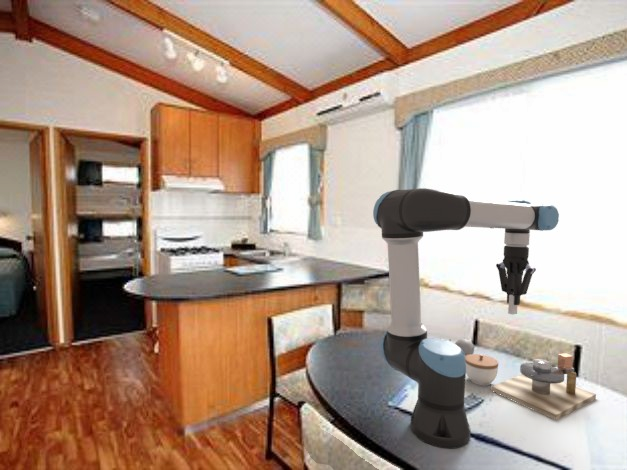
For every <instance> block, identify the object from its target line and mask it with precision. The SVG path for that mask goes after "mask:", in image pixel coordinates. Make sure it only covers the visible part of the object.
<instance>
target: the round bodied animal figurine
mask: <svg viewBox="0 0 627 470" xmlns="http://www.w3.org/2000/svg"><path fill="white" fill-rule="evenodd" d="M448 341H450V342H452V343H454V344H456V345H457V346H459V347H460V348H461V349H462V350H463V352H464V354H465V356H466V355H469V354H475V353H474V352H475V345H474V344H473V342H472V341H471V340H469V339H468V338H459V339H458V340H457V341H456V342H455V341H452V339H451V338H449V340H448Z"/></svg>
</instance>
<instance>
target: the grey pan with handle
mask: <svg viewBox="0 0 627 470" xmlns="http://www.w3.org/2000/svg"><path fill="white" fill-rule="evenodd" d="M557 355H558V357H557V366H552V362H551V361H549V360H546V359H544V358H543V359H542V358H541V359H540V358H534V359H532V362H524V363H522V364H520V368H519V372H520V373H521V375H522V374H523V375H524V376H526V377H528V378H530V379H533V380H536V381H539V382H544V383H561V382H564V381H565V375H567V371H572V372H575V368H574V367H573V357H574V356H573V355H571V354H568V353H558V354H557Z"/></svg>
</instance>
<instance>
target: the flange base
mask: <svg viewBox="0 0 627 470" xmlns="http://www.w3.org/2000/svg"><path fill="white" fill-rule="evenodd" d="M491 390H492V391H491ZM490 391H491V392H493V391H494V392H493V393H495V392H496V393H495V394H497V393H498V394H497V395H499V394H501V395H503V396H502V397H504V396H505V397H504V398H506V397H507V398H506V399H508V398H509V399H508V400H510V399H512V400H511V401H513V400H514V401H513V402H515V401H516V402H515V403H517V402H518V403H517V404H519V403H520V404H519V405H521V404H523V405H522V406H524V405H525V406H524V407H526V406H527V407H526V408H528V407H529V409H530V408H532V409H531V410H533V409H534V410H533V411H535V412H537V411H538V412H537V413H539V412H540V413H539V414H541V415H543V416H547V417H549V418H550V419H553V420H554V421H557V420H559V419H560V418H563V417H564V416H567V415H569V414H570V413H572V412H573V411H575V410H577V409H579V408H581V407H583V406H585V405H587V404H589V403H591V402H592V401H594V400H596V399H597V397H596V396H597V394H596V393H593V392H591V391H588V390H585V389H583V388H579V387H577V373H576V371H574V372H572V371H567V374H566V382H564V381H563V382H561V383H544V382H539V381H536V380H533V379H530V378H528V377H526V376H524V375H523V374H522V373H521V374H520V375H519V374H518V375H517V376H514V377H512V378H509V379H507V380H504V381H502V382H499V383H497V384H493V385H491V387H490ZM501 395H500V396H501Z"/></svg>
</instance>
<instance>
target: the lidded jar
mask: <svg viewBox="0 0 627 470" xmlns="http://www.w3.org/2000/svg"><path fill="white" fill-rule="evenodd" d="M465 363H466V375H467V378H469V380H470V382H471V383H473V384H475V385H477V386H481V387H482V386H484V387H485V386H489V385H490V384H492V383H493V382H494V381H495V379H496V378H497V375H498V369H499V361H498V360H497V359H496V358H494V357H491V356H488V355H486V354H485V355H484V354H481V353H480V354H479V353H473V354H469V355H466V356H465Z"/></svg>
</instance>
